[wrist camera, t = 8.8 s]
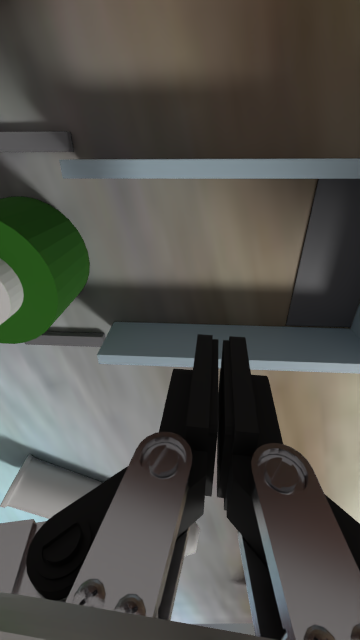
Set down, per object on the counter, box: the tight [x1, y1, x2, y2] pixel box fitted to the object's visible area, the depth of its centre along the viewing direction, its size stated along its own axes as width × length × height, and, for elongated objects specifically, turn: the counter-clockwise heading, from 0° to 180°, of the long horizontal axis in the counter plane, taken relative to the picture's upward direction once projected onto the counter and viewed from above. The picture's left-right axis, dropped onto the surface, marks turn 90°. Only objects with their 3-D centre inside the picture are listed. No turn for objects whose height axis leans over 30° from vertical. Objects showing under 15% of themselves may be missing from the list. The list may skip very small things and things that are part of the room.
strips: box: [0, 131, 105, 347], centre depth 20 cm, size 7×15×1 cm, turn 0°
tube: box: [0, 454, 200, 557], centre depth 35 cm, size 5×5×25 cm
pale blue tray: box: [59, 158, 360, 373], centre depth 18 cm, size 20×13×4 cm, turn 90°
